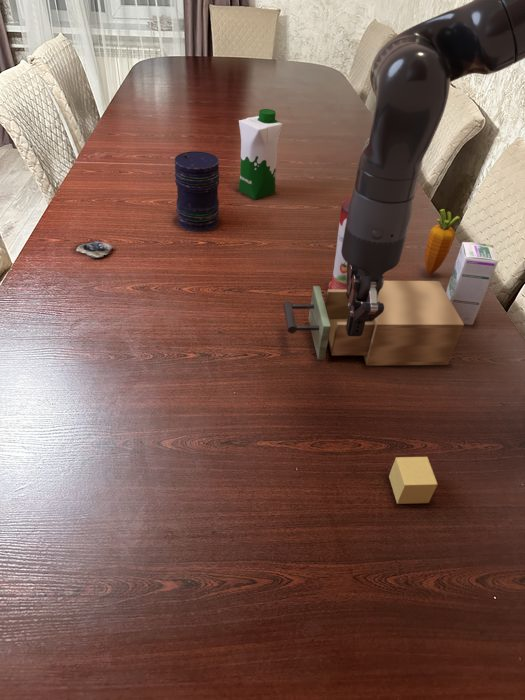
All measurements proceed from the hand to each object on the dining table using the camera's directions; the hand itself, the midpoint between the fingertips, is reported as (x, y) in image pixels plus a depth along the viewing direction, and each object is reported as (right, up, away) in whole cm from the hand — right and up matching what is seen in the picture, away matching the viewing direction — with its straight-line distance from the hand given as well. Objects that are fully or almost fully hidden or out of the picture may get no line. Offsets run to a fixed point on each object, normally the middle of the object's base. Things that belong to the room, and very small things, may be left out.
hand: (353, 332), depth 76 cm
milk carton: (-15, +39, +63) cm, 76 cm away
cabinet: (+11, -1, +19) cm, 23 cm away
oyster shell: (-49, +19, +36) cm, 64 cm away
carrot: (+23, +14, +37) cm, 46 cm away
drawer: (0, 0, +18) cm, 18 cm away
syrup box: (+25, +4, +27) cm, 37 cm away
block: (+7, -22, -4) cm, 23 cm away
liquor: (+3, +9, +30) cm, 32 cm away
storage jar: (-29, +28, +49) cm, 63 cm away
